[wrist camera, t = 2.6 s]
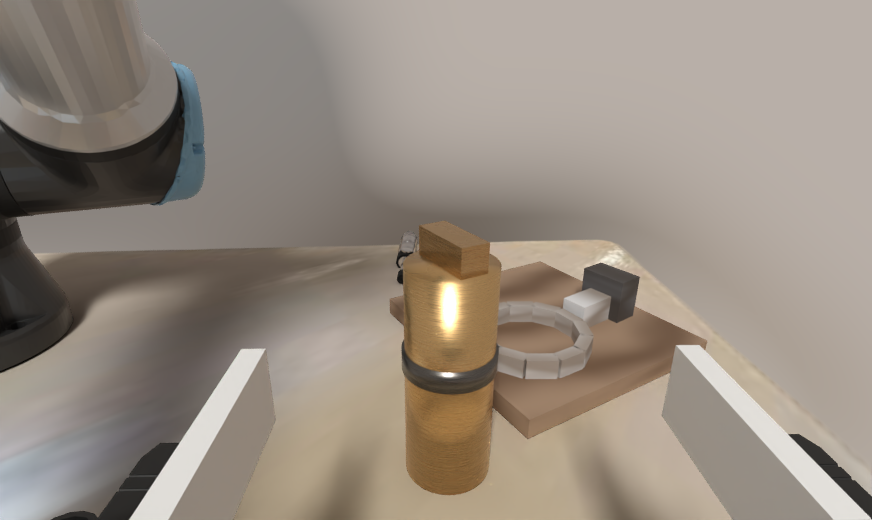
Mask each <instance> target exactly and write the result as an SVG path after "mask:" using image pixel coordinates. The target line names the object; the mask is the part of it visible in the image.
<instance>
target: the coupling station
mask: <svg viewBox="0 0 872 520" xmlns="http://www.w3.org/2000/svg"><path fill="white" fill-rule="evenodd" d="M639 278H640V277H639V276H636V275H633V274H631V273H628V272H625V271H622V270H620V269H617V268H614V267H611V266H609V265H606V264H603V263H599V264H596V265H593V266H590V267H587V268H584V276H583V282H582V281H580V280H578V279H576V278H574V277H572V276H570V275H567V274H565V273H563V272H561V271H559V270H557V269H555V268H553V267H551V266H548V265H546V264H544V263H542V262H537V263H532V264H528V265H524V266H520V267H516V268H512V269H508V270H504V271H501V281H500V296H499V312H498V328H497V344H498V347H499V355H498V370H497V374H496V376H495V378H494V390H493V406H492V407H494V408H495V409H496V410H497V411H498V412H499V413H500V414H501V415H502V416H503V417H504V418H506V419H507V420H508V421H509V422H510V423H511V424H512V425H513V426H514V427H515V428H516V429H518V430H519V431H520V432H521V433H522V434H523V435H524V436H525V437H526V438H527V439H528V438H531V437H533V436H535V435H537V434H539V433H541V432H543V431H546V430H548V429H550V428H552V427H554V426H556V425H558V424H561V423H563V422H565V421H567V420H569V419H571V418H573V417H575V416H578V415H580V414H582V413H584V412H586V411H588V410H590V409H593V408H595V407H597V406H599V405H601V404H603V403H605V402H607V401H610V400H612V399H614V398H616V397H618V396H620V395H622V394H625V393H627V392H629V391H631V390H633V389H635V388H637V387H639V386H642V385H644V384H646V383H648V382H650V381H652V380H654V379H657V378H659V377H661V376H663V375H665V374H667V373H669V372H671V367H672V362H673V357H674V352H675V347H676V345H700V346H701V347H702V348H703V349H704V350H705V348H706V344H707V340H705V339H702V338H700V337H698V336H696V335H694V334H692V333H690V332H688V331H686V330H683V329H681V328H679V327H677V326H675V325H673V324H671V323H669V322H667V321H664V320H662V319H660V318H658V317H656V316H654V315H652V314H650V313H648V312H645V311H643V310H641V309H639V308H637V307H635V301H636V295H637V289H638V284H639ZM390 313H391V314H392V315H393V316H394V317H395V318H396V319H397V320H398V321H400V322H401V323H402V324H403V325H404V295H403V296H399V297H395V298H391V299H390Z"/></svg>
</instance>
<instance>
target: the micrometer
mask: <svg viewBox="0 0 872 520" xmlns="http://www.w3.org/2000/svg"><path fill="white" fill-rule="evenodd" d="M416 245H417V237H416V235H415V234H414V232H412V231H408V232H406V233H405V234H403V236H402V238H401V244H400V246H399V252H398V257H397V261H396V264H397V266H398V268H400V271H399V272H398V277H397V281H398V282H399V283H403V262H404V260H405V258H406V257H407V256H409V255H410V254H412V253H414V252H416Z"/></svg>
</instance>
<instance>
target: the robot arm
mask: <svg viewBox="0 0 872 520" xmlns="http://www.w3.org/2000/svg"><path fill="white" fill-rule="evenodd" d="M203 144H204V126H203V117H202V109H201V102H200V97H199V92H198V88H197V83H196V80H195V77H194V75H193V73H192V71H191V70H190V69H189V68H187V67H186V66H184V65H182V64H176V63H174V62H172V61H170V60H169V58H168V56H167V54H166V53H165V52H164V51H163V49H162V48H161V47H160V46H159V45H158V44H157V43H156V42H155V41H154V40H153V39H152V38H150V37H149V36H148V35H147V34H145V33H144V32H143V28H142V24H141V20H140V15H139V11H138V7H137V2H136V0H0V371H1V370H4V369H6V368H9V367H11V366H13V365H15V364H18V363H20V362H22V361H24V360H26V359H28V358H30V357H32V356H34V355H36V354H38V353H39V352H41V351H43V350H44V349H46V348H47V347H49V346H51V345H52V344H53V343H55V342H56V341H57V340H59V339H60V338H61V337H62V336H63V335H64V334H65V333H66V332H67V331H68V329H69V328H70V326H71V324H72V321H73V316H72V312H71V309H70V306H69V302H68V299H67V297H66V295H65V293H64V292H63V290H62V289H61V288H60V287H59V285H58V284H57V283H56V282H55V280H54V279H53V278H52V277H51V275H50V274H49V273H48V272H47V270H46V269H45V268H44V267H43V265H42V264H41V263H40V262H39V260H38V259H37V258H36V257H35V255H34V254H33V253H32V252H31V250H30V249H29V248H28V247H27V245H26V244H25V242H24V240H23V237H22V234H21V231H20V228H19V225H18V222H17V219H16V217H22V216H33V215H39V214H48V213H59V212H70V211H79V210H91V209H101V208H111V207H121V206H131V205H143V204H151V205H162V204H164V203H166V202H170V201H176V200H183V199H188V198H191V197H193V196H195V195H196V194H197V193H198V192H199V191H200V189H201V187H202V184H203V181H204V174H205V151H204V147H203ZM662 417H663V418H664V420H665V421H666V423H667V424H668V425H669V427H670V428H671V430H672V431H673V433H674V434H675V436H676V437H677V439H678V440H679V442H680V443H681V445H682V446H683V447H684V449H685V450H686V452H687V453H688V455H689V456H690V458H691V459H692V461H693V462H694V464H695V465H696V467H697V468H698V470H699V471H700V472H701V474H702V475H703V477H704V478H705V480H706V481H707V483H708V484H709V486H710V487H711V489H712V490H713V492H714V493H715V495H716V496H717V497H718V499H719V500H720V502H721V503H722V505H723V506H724V508H725V509H726V511H727V512H728V514H729V515H730V517H731V518H732V520H872V496H871V495H870V494H869V493H867V492H866V491H865V490H864V489H863V488H862V487H861V486H860V485H859V484H858V483H857V482H856V481H855V480H852V479H851V476H850V475H849V474H848V473H847V472H846V471H845V470H844V469H842V468H841V467H838V464H837V463H836V462H835V461H834V460H833V459H832V458H831V457H830V456H829V455H828V454H827V453H826V452H825V451H824V450H823V449H822V448H820V447H819V446H817V445H816V444H814V443H812V442H811V441H809V440H808V439H806V438H804V437H803V436H801V435H799V434H787V433H786V432H785V431H784V430H783V429H782V428H781V427H780V426H779V425H778V424H777V423H776V422H775V421H774V420H773V419H772V418H771V417H770V416H769V415H768V414H767V413H766V412H765V411H764V410H763V409H762V408H761V407H760V406H759V405H758V404H757V403H756V402H755V401H754V400H753V399H752V398H751V397H750V396H749V395H748V394H747V393H746V392H745V391H744V390H743V389H742V388H741V387H740V386H739V385H738V384H737V382H736V381H735V380H734V379H733V378H732V377H731V376H730V375H729V374H728V373H727V372H726V371H725V370H724V369H723V368H722V367H721V366H720V365H719V364H718V363H717V362H716V361H715V360H714V359H713V358H712V357H711V356H710V355H709V354H708V353H707V352H706V351H705V350H704V349H703V348H702V347H701V346H700V345H676V347H675V352H674V357H673V362H672V367H671V372H670V377H669V382H668V387H667V392H666V396H665V401H664V406H663V411H662ZM275 420H276V418H275V411H274V404H273V397H272V390H271V383H270V376H269V368H268V361H267V354H266V349H241V350H240V352H239V353H238V355H237V356H236V358H235V359H234V361H233V363H232V364H231V366H230V367H229V369H228V370H227V372H226V373H225V375H224V376H223V378H222V379H221V381H220V382H219V384H218V385H217V387H216V388H215V390H214V391H213V393H212V395H211V396H210V398H209V399H208V401H207V402H206V404H205V405H204V407H203V408H202V410H201V411H200V413H199V414H198V416H197V417H196V419H195V420H194V422H193V423H192V425H191V426H190V428H189V430H188V431H187V433H186V434H185V436H184V437H183V439H182V440H181V442H180V443H160V444H159V445H157V446H156V447H155V448H154V449H152V450H151V451H150V452H148V453H147V454H146V455H145V456H143V457H142V458H141V459H140V461H139V462H138V464H137V465H136V466H135V468H134V469H133V470H132V472H131V473H130V476H129V478H127V479H126V480H125V481H124V483H123V484H122V485H121V487H120V488H119V492H116V494H115V495H114V496H113V498H112V499H111V501H110V502H109V503H108V505H107V506H106V507H105V509H104V510H103V512H102V513H101V514H100V516H99V517H98V518H97V517H96V515H95V514H93V513H90V512H86V511H79V512H70V513H67V514H64V515H61V516H58V517H55V518H53V519H51V520H233V519H234V516H235V514H236V512H237V509H238V507H239V505H240V502H241V500H242V498H243V495H244V493H245V491H246V488H247V486H248V484H249V481H250V479H251V476H252V474H253V472H254V469H255V467H256V465H257V462H258V460H259V458H260V455H261V453H262V451H263V448H264V446H265V444H266V441H267V439H268V437H269V434H270V432H271V430H272V427H273V425H274V423H275Z"/></svg>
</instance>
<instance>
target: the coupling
mask: <svg viewBox="0 0 872 520" xmlns="http://www.w3.org/2000/svg"><path fill="white" fill-rule="evenodd" d="M489 251H490V242H487V241H485V240H483V239H481V238H479V237H477V236H475V235H473V234H471V233H469V232H467V231H465V230H463V229H461V228H459V227H457V226H455V225H453V224H451V223H449V222H447V221H441V222H435V223H430V224H424V225H420V226H419V251H417V252H414V253H412V254H410V255H409V256H407V257H406V258H405V260H404V262H403V292H404V340H403V343H402V370H403V373H404V375H405V420H406V467H407V471H408V473H409V475H410V477H411V478H412V480H413V481H414V482H415V483H416V484H417V485H419V486H420V487H422V488H423V489H425V490H427V491H430V492H433V493H437V494H442V495H455V494H461V493H464V492H467V491H470V490H472V489H473V488H475V487H477V486H478V485H479V484H480V483H481V482H482V481H483V480H484V478H485V477H486V475H487V472H488V467H489V453H490V437H491V422H492V406H493V390H494V378H495V376H496V374H497V370H498V355H499V347H498V344H497V328H498V312H499V296H500V281H501V263H500V261H499V260H498V259H497V258H496V257H495V256H493V255H491V254H489Z"/></svg>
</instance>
